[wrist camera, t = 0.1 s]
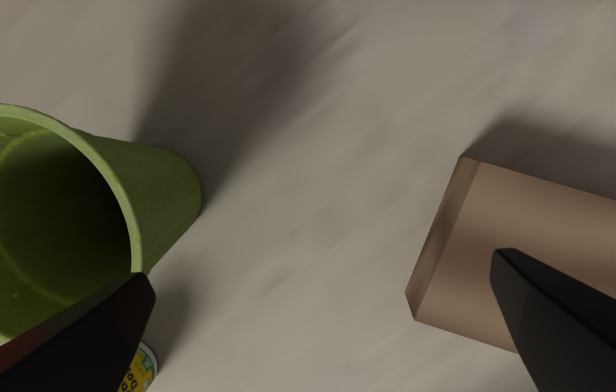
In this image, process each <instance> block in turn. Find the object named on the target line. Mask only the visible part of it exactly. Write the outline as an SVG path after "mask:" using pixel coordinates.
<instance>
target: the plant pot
mask: <svg viewBox="0 0 616 392" xmlns="http://www.w3.org/2000/svg"><path fill="white" fill-rule="evenodd" d="M201 203H202V192H201V186H200V182H199V179H198V177H197V175H196V173H195V172H194V170H193V168H192V167H191V166H190V164H189V163H188V162H187V161H186V160H185V159H183V158H182V157H180V156H179V155H177V154H175V153H174V152H172V151H170V150H167V149H164V148H160V147H156V146H150V145H145V144H139V143H133V142H127V141H122V140H117V139H112V138H106V137H100V136H94V135H92V134H89V133H87V132H84V131H82V130H79V129H75V128H71V127H69V126H68V125H66V124H64V123H63V122H61V121H59V120H57V119H55V118H53V117H51V116H49V115H47V114H44V113H42V112H39V111H37V110H34V109H30V108H27V107H22V106H17V105H10V104H3V103H0V343H2V344H5V343H7V342H9V341H10V340H12V339H14V338H16V337H17V336H19V335H21V334H22V333H24V332H26V331H28V330H29V329H31V328H33V327H35V326H36V325H38V324H40V323H42V322H43V321H45V320H47V319H48V318H50V317H52V316H54V315H55V314H57V313H59V312H61V311H62V310H64V309H66V308H68V307H69V306H71V305H73V304H74V303H76V302H78V301H80V300H81V299H83V298H85V297H87V296H88V295H90V294H92V293H94V292H95V291H97V290H99V289H100V288H102V287H104V286H106V285H107V284H109V283H111V282H113V281H114V280H116V279H118V278H120V277H121V276H123V275H125V274H127V273H130V272H144V273H145V274H146V275H147V276H148V274H149V273H150V271H151V269H152V268H153V267H154V266H155V264H156V263H157V262H158V261H159V260H160V259H161V258H162V257H163V256H164V255H165V254H166V252H167V251H168V250H169V249H170V248H171V247H172V246H173V245H174V244H175V243H176V242H177V241H178V239H179V238H180V237H181V236H182V235H183V234H184V233H185V232H186V231H187V230H188V229H189V228H190V227H191V225H192V224H193V223H194V221H195V220H196V218H197V215H198V213H199V210H200V207H201Z"/></svg>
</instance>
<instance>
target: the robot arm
mask: <svg viewBox="0 0 616 392" xmlns="http://www.w3.org/2000/svg"><path fill="white" fill-rule="evenodd" d="M489 280H490V285H491V288H492V290H493V293H494V295H495V298H496V300H497V303H498V305H499V308H500V310H501V313H502V315H503V318H504V320H505V323H506V325H507V328H508V330H509V333H510V335H511V338H512V340H513V342H514V345H515V347H516V349H517V351H518V353H519V355H520V357H521V359H522V361H523V363H524V364H525V366H526V368H527V370H528V372H529V374H530V376H531V378H532V380H533V381H534V383H535V385H536V387H537V389H538V391H539V392H616V299H615V298H613V297H611V296H609V295H607V294H605V293H603V292H601V291H599V290H597V289H595V288H593V287H591V286H589V285H587V284H585V283H583V282H581V281H579V280H577V279H575V278H573V277H571V276H569V275H567V274H565V273H563V272H561V271H559V270H557V269H555V268H553V267H551V266H550V265H548V264H546V263H544V262H542V261H540V260H538V259H536V258H534V257H532V256H530V255H528V254H526V253H524V252H522V251H520V250H518V249H516V248H512V247H510V248H497V249H495V250H494V251H493V253H492V259H491V266H490V274H489ZM155 301H156V295H155V292H154V290H153V288H152V286H151V284H150V281H149V279H148V277H147V275H146V274H145V273H144V272H130V273H127V274H125V275H123V276H121V277H120V278H118V279H116V280H114V281H113V282H111V283H109V284H107V285H106V286H104V287H102V288H100V289H99V290H97V291H95V292H94V293H92V294H90V295H88V296H87V297H85V298H83V299H81V300H80V301H78V302H76V303H74V304H73V305H71V306H69V307H68V308H66V309H64V310H62V311H61V312H59V313H57V314H55V315H54V316H52V317H50V318H48V319H47V320H45V321H43V322H42V323H40V324H38V325H36V326H35V327H33V328H31V329H29V330H28V331H26V332H24V333H22V334H21V335H19V336H17V337H16V338H14V339H12V340H10V341H9V342H7V343H5V344H3V345H2V346H0V392H118V390H119V388H120V386H121V384H122V382H123V380H124V378H125V376H126V374H127V371H128V369H129V367H130V365H131V363H132V361H133V359H134V357H135V354H136V352H137V349H138V347H139V344H140V342H141V339H142V336H143V334H144V331H145V328H146V326H147V323H148V320H149V318H150V315H151V313H152V310H153V307H154V305H155Z"/></svg>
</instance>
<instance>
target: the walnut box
mask: <svg viewBox="0 0 616 392" xmlns="http://www.w3.org/2000/svg"><path fill="white" fill-rule="evenodd" d="M510 247H512V248H516V249H518V250H520V251H522V252H524V253H526V254H528V255H530V256H532V257H534V258H536V259H538V260H540V261H542V262H544V263H546V264H548V265H550V266H551V267H553V268H555V269H557V270H559V271H561V272H563V273H565V274H567V275H569V276H571V277H573V278H575V279H577V280H579V281H581V282H583V283H585V284H587V285H589V286H591V287H593V288H595V289H597V290H599V291H601V292H603V293H605V294H607V295H609V296H611V297H613V298H615V299H616V200H612V199H609V198H605V197H602V196H598V195H595V194H592V193H588V192H585V191H581V190H578V189H574V188H571V187H567V186H564V185H561V184H557V183H554V182H550V181H547V180H543V179H540V178H537V177H533V176H530V175H526V174H523V173H519V172H516V171H512V170H509V169H506V168H502V167H499V166H495V165H492V164H488V163H485V162H482V161H478V160H474V159H470V158H467V157H463V156H459V159H458V161H457V164H456V166H455V169H454V171H453V174H452V176H451V179H450V181H449V184H448V186H447V189H446V191H445V194H444V196H443V199H442V201H441V204H440V206H439V208H438V211H437V213H436V216H435V218H434V221H433V223H432V226H431V228H430V231H429V233H428V236H427V238H426V241H425V243H424V246H423V248H422V251H421V253H420V256H419V258H418V261H417V263H416V265H415V268H414V270H413V273H412V275H411V278H410V280H409V283H408V285H407V288H406V290H405V295H406V298H407V301H408V304H409V307H410V310H411V312H412V315H413V318H414V320H415V321H418V322H421V323H424V324H427V325H430V326H433V327H436V328H439V329H442V330H446V331H449V332H452V333H455V334H458V335H461V336H464V337H467V338H470V339H473V340H477V341H480V342H483V343H486V344H489V345H492V346H495V347H498V348H501V349H504V350H507V351H511V352H514V353H517V354H519V353H518V351H517V349H516V347H515V345H514V342H513V340H512V338H511V335H510V333H509V330H508V328H507V325H506V323H505V320H504V318H503V315H502V313H501V310H500V308H499V305H498V303H497V300H496V298H495V295H494V293H493V290H492V288H491V285H490V280H489V274H490V266H491V259H492V253H493V251H494V250H495V249H497V248H510Z"/></svg>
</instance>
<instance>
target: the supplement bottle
mask: <svg viewBox="0 0 616 392" xmlns="http://www.w3.org/2000/svg"><path fill="white" fill-rule="evenodd" d="M156 374H157V361H156V358H155V356H154V354H153V352H152V351H151V350H150V349H149V347H148V346H146V345H145V344H144V343H142V342H140V344H139V347H138V349H137V352H136V354H135V357H134V359H133V361H132V363H131V365H130V367H129V369H128V371H127V374H126V376H125V378H124V380H123V382H122V384H121V386H120V388H119V390H118V392H145V391H146V390H147V388H148V387H149V386H150V384H151V383H152V381H153V380H154V378H155V377H156Z"/></svg>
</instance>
